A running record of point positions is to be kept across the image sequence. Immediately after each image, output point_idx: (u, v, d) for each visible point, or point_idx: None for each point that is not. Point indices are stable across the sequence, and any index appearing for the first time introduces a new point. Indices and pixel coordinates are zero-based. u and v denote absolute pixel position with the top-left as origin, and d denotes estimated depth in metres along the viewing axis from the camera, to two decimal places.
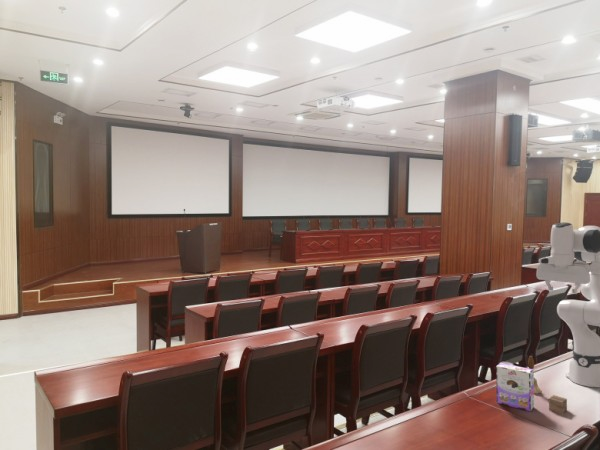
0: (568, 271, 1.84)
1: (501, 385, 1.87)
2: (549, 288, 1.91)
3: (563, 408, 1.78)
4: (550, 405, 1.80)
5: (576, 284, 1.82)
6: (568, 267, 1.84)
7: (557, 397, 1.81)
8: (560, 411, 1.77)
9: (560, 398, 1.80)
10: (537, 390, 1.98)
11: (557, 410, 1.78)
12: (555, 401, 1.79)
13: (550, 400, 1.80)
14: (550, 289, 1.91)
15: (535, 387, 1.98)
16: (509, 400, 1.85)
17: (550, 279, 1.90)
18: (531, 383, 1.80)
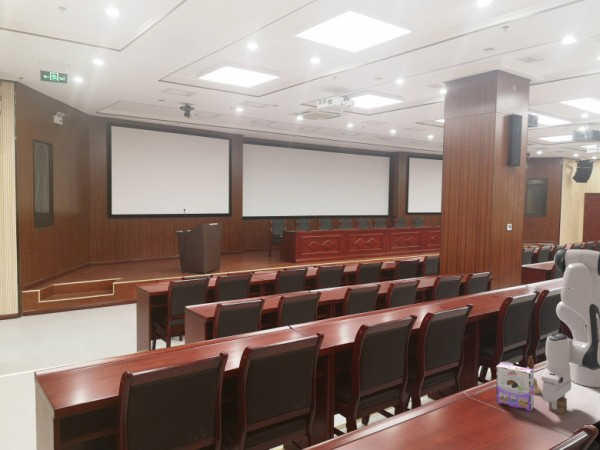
0: None
1: (501, 385, 1.87)
2: (557, 406, 1.77)
3: (563, 408, 1.78)
4: (550, 405, 1.80)
5: (564, 394, 1.82)
6: None
7: None
8: (560, 411, 1.77)
9: (560, 398, 1.80)
10: (537, 390, 1.98)
11: (557, 410, 1.78)
12: None
13: None
14: (557, 407, 1.78)
15: (535, 387, 1.98)
16: (509, 400, 1.85)
17: (558, 398, 1.76)
18: (531, 383, 1.80)
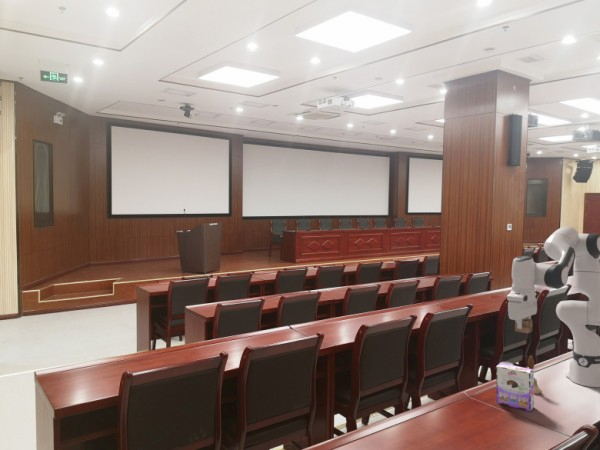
0: (529, 304, 1.84)
1: (501, 385, 1.87)
2: (522, 326, 1.81)
3: (528, 328, 1.81)
4: (516, 326, 1.83)
5: (530, 316, 1.85)
6: None
7: (523, 318, 1.85)
8: (525, 330, 1.81)
9: (526, 319, 1.84)
10: (537, 390, 1.98)
11: (522, 330, 1.81)
12: None
13: None
14: (522, 327, 1.81)
15: (535, 387, 1.98)
16: (509, 400, 1.85)
17: (523, 317, 1.80)
18: (531, 383, 1.80)
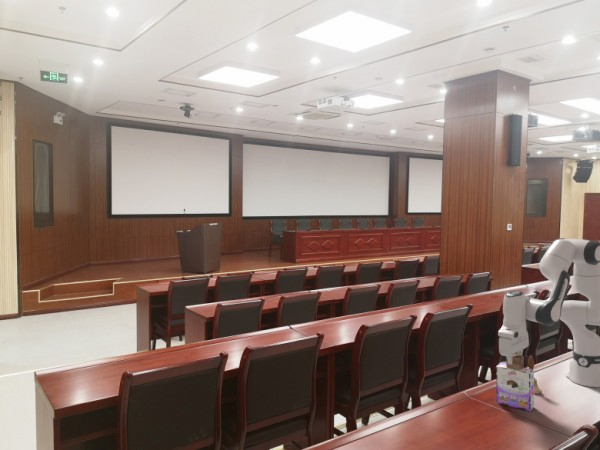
0: (521, 339, 1.86)
1: (501, 385, 1.87)
2: (512, 361, 1.82)
3: (519, 364, 1.83)
4: (507, 362, 1.85)
5: (522, 350, 1.88)
6: None
7: (514, 354, 1.87)
8: (516, 367, 1.83)
9: (517, 355, 1.86)
10: (537, 390, 1.98)
11: (513, 367, 1.83)
12: (512, 358, 1.84)
13: None
14: (512, 362, 1.83)
15: (535, 387, 1.98)
16: (509, 400, 1.85)
17: (514, 352, 1.81)
18: (531, 383, 1.80)
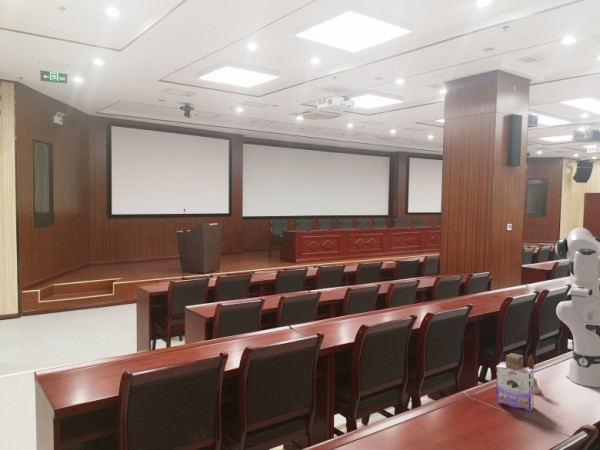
0: (592, 299, 1.78)
1: (501, 385, 1.87)
2: (584, 322, 1.74)
3: (519, 364, 1.83)
4: (507, 362, 1.86)
5: (593, 310, 1.81)
6: None
7: (514, 354, 1.87)
8: (516, 367, 1.83)
9: (517, 355, 1.86)
10: (537, 390, 1.98)
11: (513, 367, 1.84)
12: (511, 358, 1.84)
13: (507, 357, 1.86)
14: (584, 322, 1.75)
15: (535, 387, 1.98)
16: (509, 400, 1.85)
17: (587, 311, 1.74)
18: (531, 383, 1.80)
